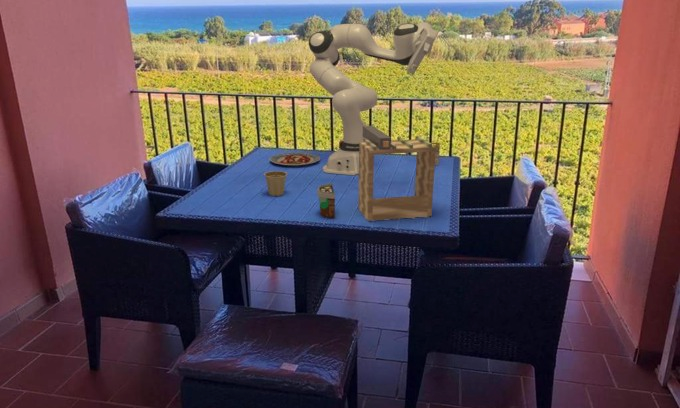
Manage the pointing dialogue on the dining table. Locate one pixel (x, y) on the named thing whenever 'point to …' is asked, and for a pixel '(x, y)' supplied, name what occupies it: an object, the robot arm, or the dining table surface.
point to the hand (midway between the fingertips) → (419, 60)
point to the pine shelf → (397, 205)
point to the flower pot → (275, 182)
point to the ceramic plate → (294, 159)
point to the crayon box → (437, 153)
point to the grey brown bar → (377, 137)
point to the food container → (327, 200)
